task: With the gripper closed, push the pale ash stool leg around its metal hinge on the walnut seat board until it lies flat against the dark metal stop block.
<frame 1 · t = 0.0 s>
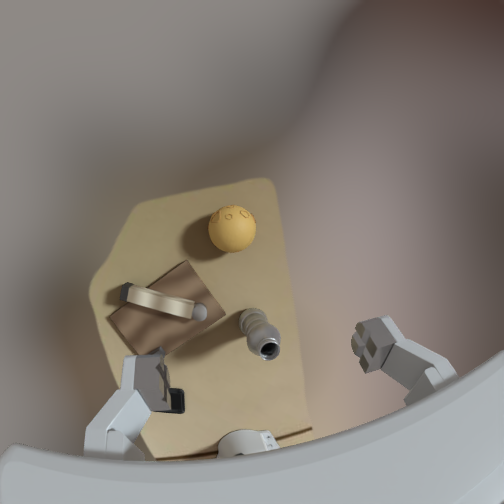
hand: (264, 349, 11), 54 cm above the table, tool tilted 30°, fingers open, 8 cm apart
plastic bottle: (251, 318, 67), on the table
stool leg: (164, 302, 59), point 4 cm above the table, hinge at -50.0°
seat board: (166, 314, 63), on the table
stress ball: (230, 229, 65), on the table
phone: (156, 397, 65), on the table
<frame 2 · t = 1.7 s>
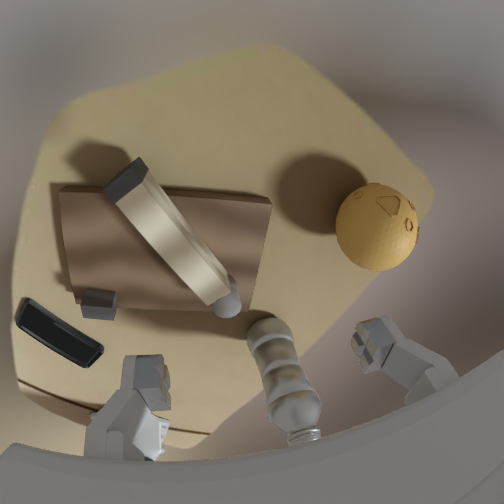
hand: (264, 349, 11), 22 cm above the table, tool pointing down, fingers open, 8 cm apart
plastic bottle: (265, 326, 43), on the table
stool leg: (182, 246, 28), point 4 cm above the table, hinge at -50.0°
seat board: (160, 250, 32), on the table
stress ball: (355, 209, 35), on the table
phone: (59, 332, 36), on the table
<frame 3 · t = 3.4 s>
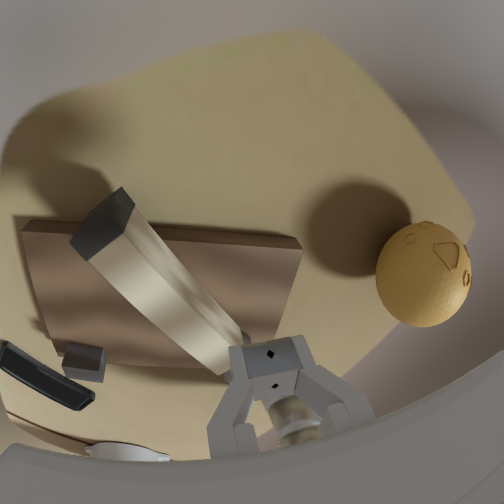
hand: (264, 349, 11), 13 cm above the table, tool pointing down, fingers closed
plastic bottle: (280, 373, 35), on the table
stool leg: (184, 308, 21), point 4 cm above the table, hinge at -50.0°
seat board: (156, 301, 25), on the table
stress ball: (395, 246, 28), on the table
phone: (44, 375, 29), on the table
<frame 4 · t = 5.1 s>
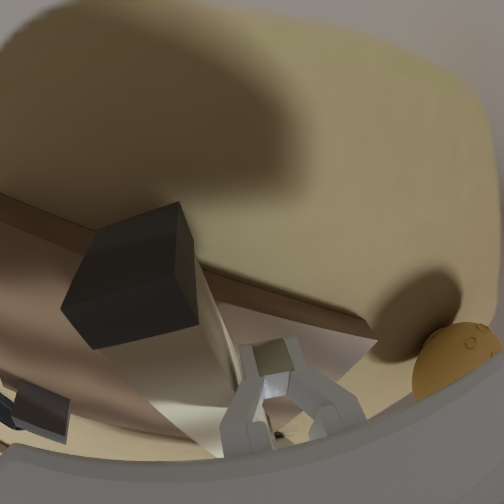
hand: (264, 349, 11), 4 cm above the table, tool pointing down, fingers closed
stool leg: (221, 402, 13), point 4 cm above the table, hinge at -48.1°, touching gripper
seat board: (162, 361, 16), on the table
stress ball: (432, 337, 23), on the table
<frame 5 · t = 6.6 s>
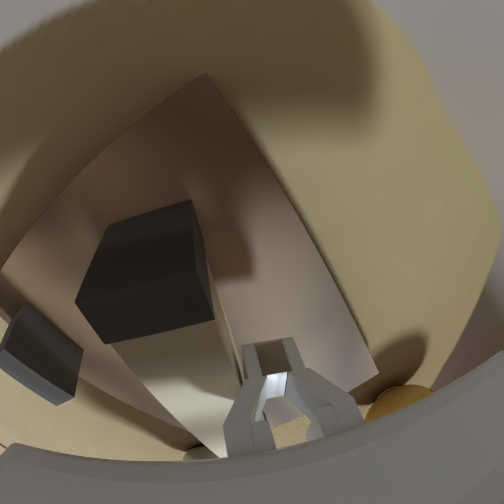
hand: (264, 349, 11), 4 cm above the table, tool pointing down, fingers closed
plastic bottle: (209, 446, 26), on the table
stool leg: (222, 400, 13), point 4 cm above the table, hinge at -20.8°, touching gripper
seat board: (213, 338, 16), on the table
stress ball: (385, 391, 28), on the table
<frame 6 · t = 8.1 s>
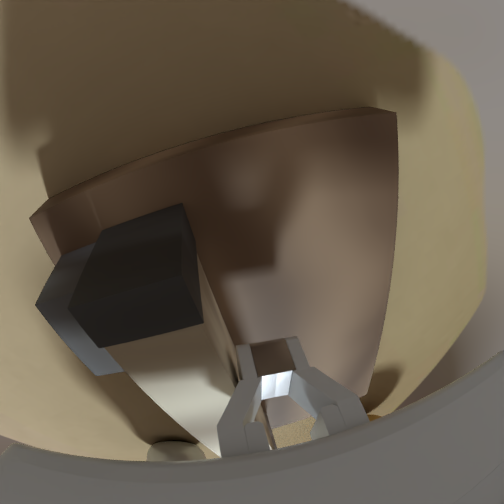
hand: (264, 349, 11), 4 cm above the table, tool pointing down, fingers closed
plastic bottle: (175, 442, 25), on the table
stool leg: (221, 400, 13), point 4 cm above the table, hinge at -0.1°, touching gripper
seat board: (260, 331, 17), on the table
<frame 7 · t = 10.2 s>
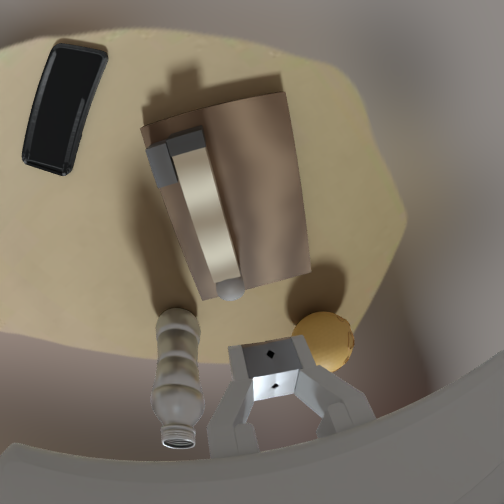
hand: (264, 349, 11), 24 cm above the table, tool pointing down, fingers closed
plastic bottle: (178, 317, 41), on the table
stool leg: (210, 220, 29), point 4 cm above the table, hinge at 0.0°
seat board: (235, 201, 33), on the table
stress ball: (311, 320, 46), on the table
phone: (62, 108, 24), on the table
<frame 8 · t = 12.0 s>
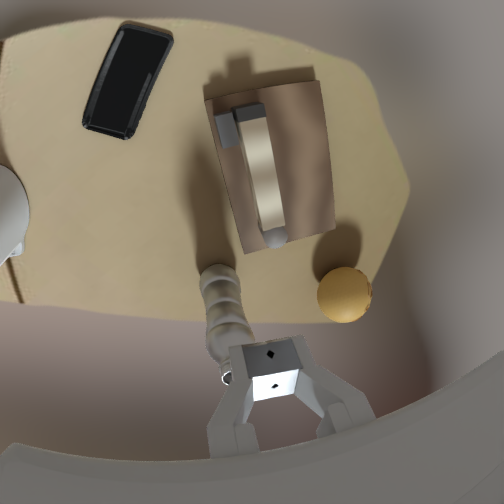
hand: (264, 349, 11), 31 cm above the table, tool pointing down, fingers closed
plastic bottle: (218, 274, 47), on the table
stool leg: (261, 178, 35), point 4 cm above the table, hinge at 0.0°
seat board: (276, 166, 39), on the table
stress ball: (332, 277, 53), on the table
phone: (126, 80, 29), on the table
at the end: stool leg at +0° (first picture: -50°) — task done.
